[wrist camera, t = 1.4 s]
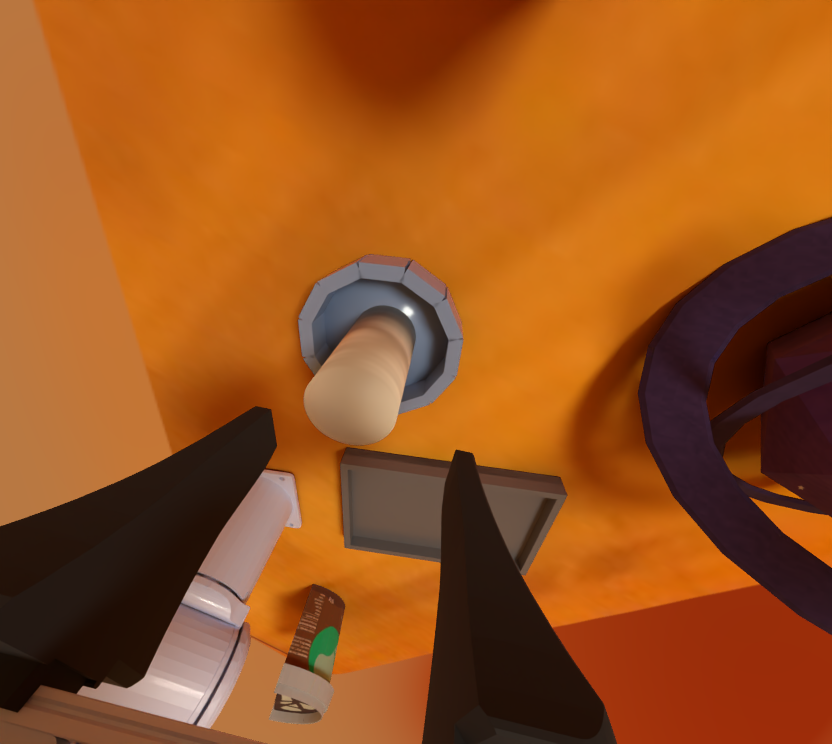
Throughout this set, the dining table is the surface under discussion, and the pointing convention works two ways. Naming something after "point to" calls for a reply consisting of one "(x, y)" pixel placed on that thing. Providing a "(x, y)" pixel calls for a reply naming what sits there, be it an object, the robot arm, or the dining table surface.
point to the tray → (438, 505)
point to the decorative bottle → (750, 416)
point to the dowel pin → (363, 379)
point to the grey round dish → (397, 287)
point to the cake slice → (310, 661)
